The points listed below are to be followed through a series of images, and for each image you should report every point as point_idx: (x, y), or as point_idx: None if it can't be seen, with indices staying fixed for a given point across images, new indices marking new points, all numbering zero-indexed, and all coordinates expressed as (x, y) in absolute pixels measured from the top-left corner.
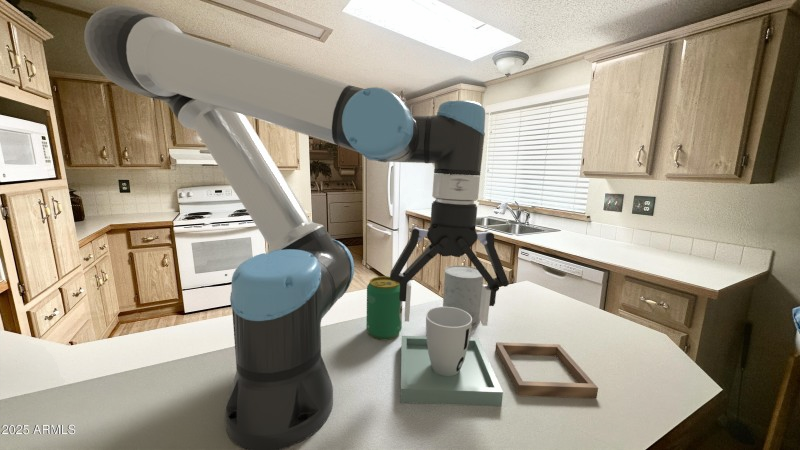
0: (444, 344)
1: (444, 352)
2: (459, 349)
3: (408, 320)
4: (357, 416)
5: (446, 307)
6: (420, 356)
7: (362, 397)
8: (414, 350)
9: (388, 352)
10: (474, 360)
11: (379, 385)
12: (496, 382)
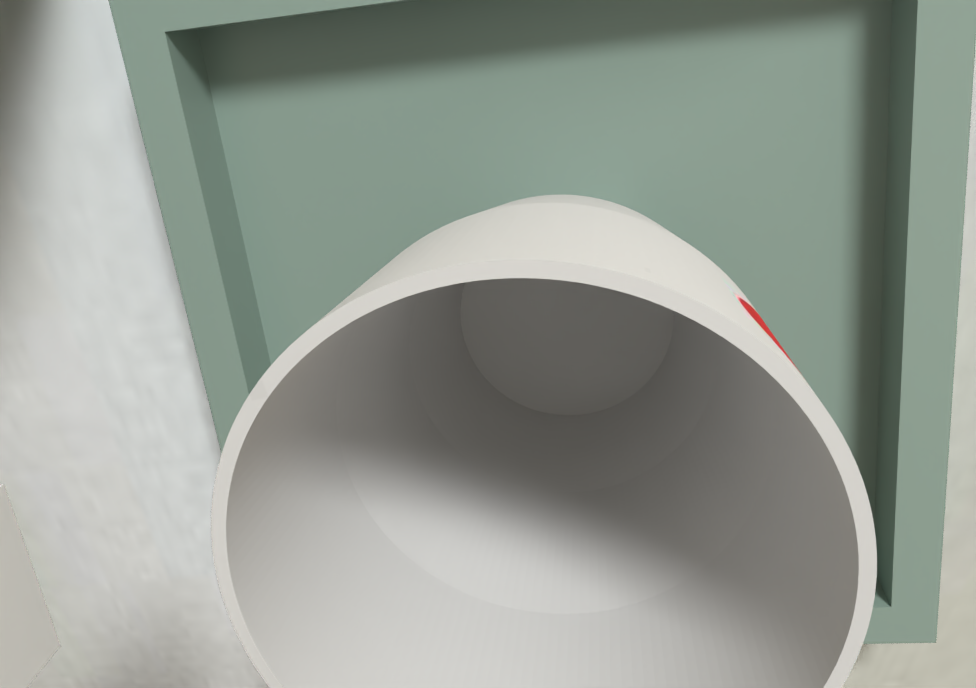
0: (505, 646)
1: (518, 585)
2: (655, 596)
3: (46, 653)
4: (122, 679)
5: (503, 274)
6: (351, 195)
7: (94, 570)
8: (287, 112)
9: (85, 101)
10: (834, 184)
11: (148, 475)
12: (924, 558)
